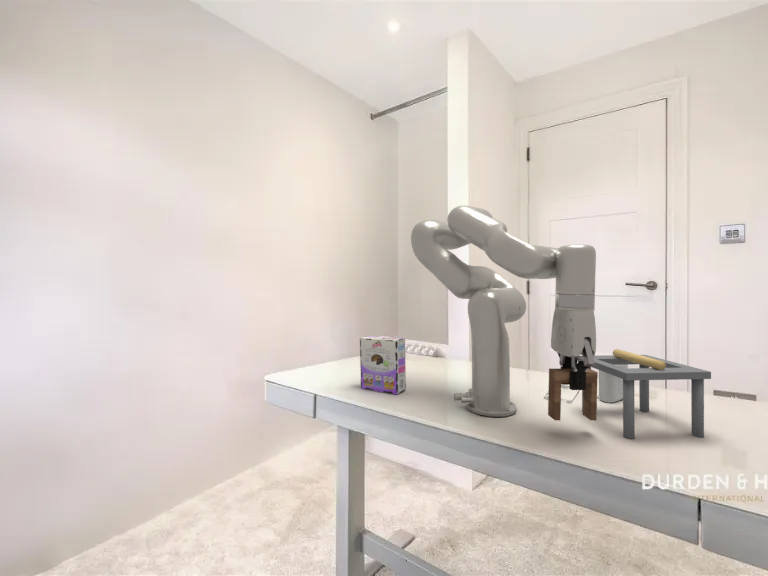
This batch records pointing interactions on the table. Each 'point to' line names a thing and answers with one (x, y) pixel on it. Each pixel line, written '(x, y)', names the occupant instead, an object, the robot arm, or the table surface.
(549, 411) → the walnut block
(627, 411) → the grey open-frame table
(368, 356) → the candy box
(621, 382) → the photo printer
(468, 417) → the table surface
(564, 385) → the phone case
